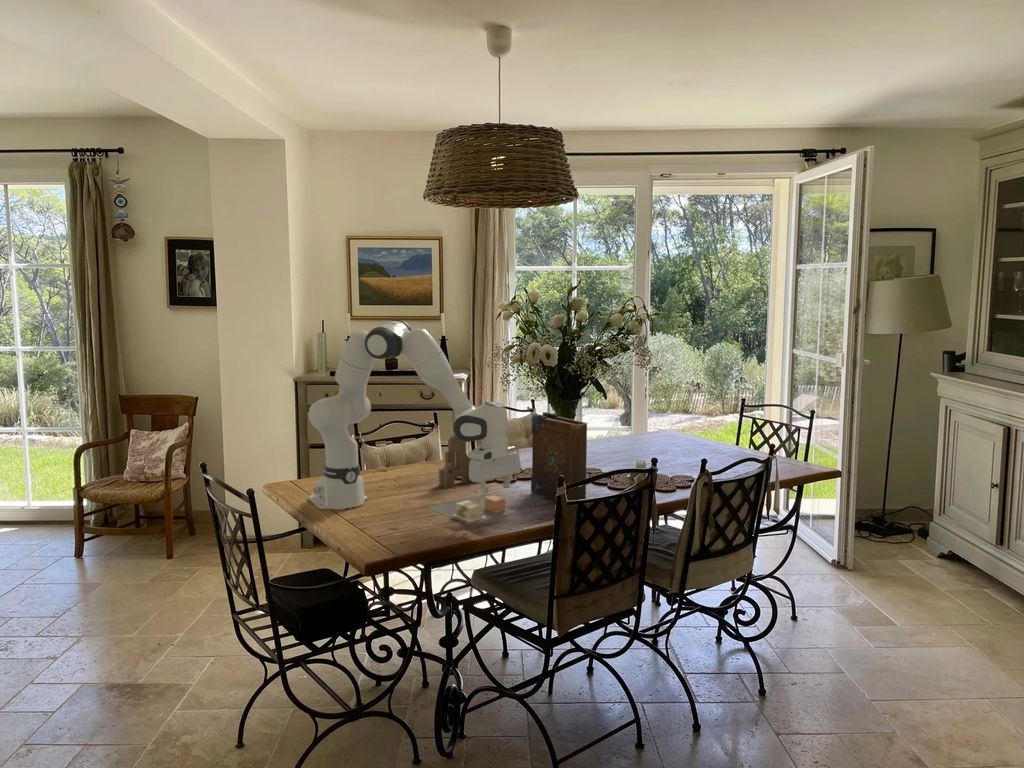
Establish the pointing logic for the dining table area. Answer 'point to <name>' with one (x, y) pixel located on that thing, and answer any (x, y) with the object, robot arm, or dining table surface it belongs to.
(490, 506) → the brick top
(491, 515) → the build board
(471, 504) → the brick base
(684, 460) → the dining table surface
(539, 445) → the decorative book
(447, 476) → the wooden toy
